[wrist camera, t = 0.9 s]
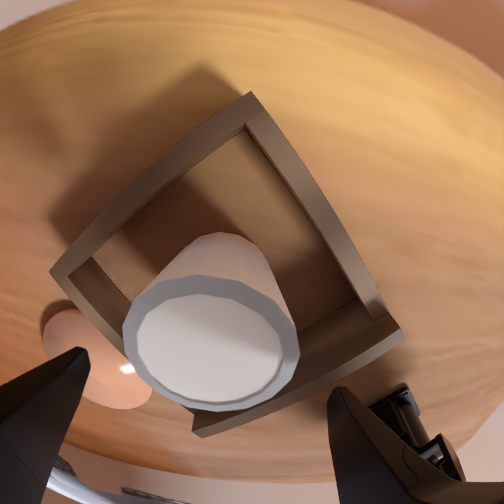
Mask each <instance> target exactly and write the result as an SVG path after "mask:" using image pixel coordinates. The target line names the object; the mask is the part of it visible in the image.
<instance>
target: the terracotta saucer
mask: <svg viewBox="0 0 504 504" xmlns="http://www.w3.org/2000/svg"><path fill="white" fill-rule="evenodd" d="M43 345H44V349H45V352H46V355H47V357H48V359H49V360H51V359H53V358H55V357H57V356H59V355H60V354H62V353H64V352H66V351H68V350H70V349H72V348H74V347H76V346H79V347H82V348H85V349H87V351H88V355H89V359H90V363H91V370H90V373H89V376H88V379H87V382H86V385H85V388H84V391H83V394H82V396H84V397H85V398H87V399H89V400H91V401H93V402H95V403H98V404H100V405H103V406H107V407H111V408H116V409H130V408H135V407H138V406H140V405H142V404H144V403H145V402H146V401H147V400H148V399H149V397H150V395H151V393H152V390H153V388H152V387H150V386H149V385H148V384H147V383H146V382H145V381H143V380H142V379H141V378H140V377H139V376H138V374H137V373H136V371H135V369H134V368H133V366H132V364H131V363H130V361H129V360H128V359H127V358H126V357H124V356H123V355H122V354H121V353H120V352H119V351H118V350H117V349H116V348H115V347H114V346H113V345H112V344H111V343H110V342H109V341H108V340H107V339H106V338H105V337H104V336H103V335H102V334H101V333H100V332H99V331H98V330H97V328H96V327H95V326H94V325H93V324H92V323H91V322H90V321H89V320H88V319H87V318H86V316H85V315H84V314H83V313H82V312H81V311H80V310H79V309H78V308H69V309H64V310H61V311H59V312H57V313H56V314H55V315H54V316H53V317H52V318H51V319H50V320H49V321H48V323H47V324H46V326H45V328H44V331H43Z"/></svg>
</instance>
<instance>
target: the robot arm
mask: <svg viewBox="0 0 504 504" xmlns="http://www.w3.org/2000/svg"><path fill="white" fill-rule="evenodd" d="M90 370H91V363H90V359H89V355H88V351H87V349H85V348H82V347H79V346H76V347H74V348H72V349H70V350H68V351H66V352H64V353H62V354H60V355H59V356H57V357H55V358H53V359H51V360H49V361H47V362H45V363H43V364H41V365H39V366H38V367H36V368H34V369H32V370H30V371H28V372H26V373H24V374H22V375H20V376H19V377H17V378H15V379H13V380H11V381H9V382H8V383H5V384H3V385H1V386H0V504H41V501H42V498H43V494H44V492H45V488H46V487H45V486H46V485H47V482H48V479H49V477H50V474H51V471H52V468H53V465H54V463H55V460H56V458H57V455H58V452H59V450H60V447H61V445H62V442H63V440H64V437H65V435H66V433H67V430H68V428H69V426H70V423H71V421H72V419H73V416H74V414H75V412H76V410H77V407H78V405H79V403H80V400H81V397H82V394H83V391H84V388H85V385H86V382H87V379H88V376H89V373H90ZM419 415H420V411H419V409H418V407H417V405H416V402H415V400H414V398H413V396H412V393H411V391H410V389H409V388H408V387H404V388H402V389H401V390H399V391H397V392H396V393H394V394H393V395H391V396H389V397H388V398H386V399H384V400H382V401H381V402H379V403H377V404H375V405H374V406H372V407H370V408H367V407H366V406H365V405H364V404H363V403H362V402H361V401H360V400H359V399H358V398H357V397H356V396H355V395H354V394H353V393H352V392H351V391H350V390H349V389H348V388H346V387H335V388H334V389H333V391H332V393H331V395H330V397H329V399H328V401H327V420H328V435H329V444H330V449H331V455H332V460H333V466H334V472H335V477H336V483H337V489H338V495H339V501H340V504H504V482H466V478H465V475H464V472H463V469H462V467H461V464H460V461H459V458H458V457H457V454H456V453H455V451H454V449H453V447H452V445H451V444H450V442H449V441H448V440H447V439H446V438H445V437H444V436H443V435H442V434H441V433H440V434H438V435H437V436H435V438H434V439H433V440H431V441H430V439H429V437H428V435H427V433H426V431H425V429H424V427H423V425H422V423H421V421H420V419H419V417H418V416H419ZM442 455H443V458H441V459H440V460H439V459H438V458H439V457H440V456H442Z"/></svg>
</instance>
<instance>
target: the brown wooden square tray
mask: <svg viewBox="0 0 504 504" xmlns="http://www.w3.org/2000/svg"><path fill="white" fill-rule="evenodd" d="M245 128H246V129H247V131H248V132H249V133H250V135H251V136H252V137H253V139H254V140H255V141H256V143H257V144H258V145H259V147H260V148H261V149H262V151H263V152H264V154H265V155H266V156H267V158H268V159H269V161H270V162H271V163H272V165H273V166H274V168H275V169H276V170H277V172H278V173H279V175H280V176H281V178H282V179H283V180H284V182H285V183H286V185H287V186H288V188H289V189H290V191H291V192H292V194H293V195H294V197H295V198H296V200H297V201H298V203H299V204H300V206H301V207H302V209H303V210H304V212H305V213H306V215H307V216H308V218H309V219H310V221H311V222H312V224H313V225H314V227H315V228H316V230H317V232H318V233H319V235H320V236H321V238H322V239H323V241H324V243H325V244H326V246H327V247H328V249H329V251H330V252H331V254H332V255H333V257H334V259H335V260H336V262H337V264H338V265H339V267H340V269H341V270H342V272H343V274H344V275H345V277H346V279H347V280H348V282H349V284H350V285H351V287H352V289H353V290H354V292H355V294H356V296H357V297H356V298H355V299H353V300H352V301H350V302H349V303H347V304H346V305H344V306H343V307H341V308H339V309H338V310H336V311H335V312H333V313H332V314H330V315H328V316H327V317H325V318H323V319H322V320H320V321H319V322H317V323H315V324H314V325H312V326H310V327H309V328H307V329H305V330H303V331H302V332H300V333H298V334H297V338H298V344H299V350H300V357H299V360H298V363H297V365H296V368H295V371H294V373H293V376H292V379H291V380H290V381H289V382H288V383H287V384H286V385H285V386H284V387H283V388H282V389H281V390H280V391H278V392H277V393H276V394H275V395H274V396H273V397H272V398H270V399H268V400H265V401H263V402H261V403H258V404H256V405H254V406H251V407H249V408H246V409H238V410H230V411H220V412H216V411H209V410H202V409H196V408H190V407H186V406H184V405H182V404H181V405H182V406H183V407H184V408H186V409H187V410H188V411H190V412H191V413H193V414H194V420H193V426H192V432H193V433H194V434H196V435H197V436H199V437H200V438H205V437H208V436H211V435H214V434H217V433H220V432H223V431H226V430H229V429H232V428H235V427H237V426H240V425H243V424H246V423H248V422H251V421H253V420H256V419H258V418H261V417H263V416H266V415H268V414H270V413H273V412H275V411H278V410H280V409H282V408H284V407H287V406H289V405H291V404H293V403H295V402H297V401H300V400H302V399H304V398H306V397H308V396H310V395H312V394H314V393H316V392H318V391H320V390H322V389H324V388H326V387H328V386H330V385H331V384H333V383H335V382H337V381H339V380H341V379H343V378H344V377H346V376H348V375H350V374H351V373H353V372H355V371H357V370H358V369H360V368H362V367H363V366H365V365H367V364H368V363H370V362H372V361H373V360H375V359H376V358H378V357H380V356H381V355H383V354H384V353H386V352H387V351H389V350H391V349H392V348H394V347H395V346H397V345H398V344H400V343H401V342H402V341H404V340H405V337H404V335H403V332H402V330H401V328H400V327H399V325H398V324H397V323H396V321H395V320H394V319H393V317H392V316H391V315H390V313H389V311H388V309H387V307H386V305H385V303H384V301H383V299H382V297H381V295H380V293H379V291H378V289H377V287H376V285H375V283H374V281H373V279H372V277H371V276H370V274H369V272H368V270H367V268H366V266H365V264H364V262H363V261H362V259H361V257H360V255H359V253H358V251H357V250H356V248H355V246H354V244H353V243H352V241H351V239H350V237H349V235H348V234H347V232H346V230H345V229H344V227H343V225H342V223H341V222H340V220H339V218H338V217H337V215H336V213H335V212H334V210H333V208H332V207H331V205H330V204H329V202H328V200H327V199H326V197H325V195H324V194H323V192H322V191H321V189H320V188H319V186H318V184H317V183H316V181H315V180H314V178H313V177H312V175H311V174H310V172H309V171H308V169H307V168H306V166H305V165H304V163H303V162H302V160H301V159H300V157H299V156H298V154H297V153H296V151H295V150H294V148H293V147H292V146H291V144H290V143H289V141H288V140H287V138H286V137H285V136H284V134H283V133H282V131H281V130H280V129H279V127H278V126H277V125H276V123H275V122H274V120H273V119H272V118H271V116H270V115H269V114H268V112H267V111H266V110H265V108H264V107H263V106H262V104H261V103H260V102H259V101H258V99H257V98H256V97H255V95H254V94H253V93H252V92H251V91H250V92H248V93H247V94H245V95H244V96H242V97H241V98H239V99H238V100H236V101H235V102H233V103H232V104H230V105H229V106H227V107H226V108H225V109H223V110H222V111H220V112H219V113H217V114H216V115H215V116H213V117H212V118H211V119H209V120H208V121H206V122H205V123H204V124H202V125H201V126H200V127H198V128H197V129H196V130H194V131H193V132H192V133H190V134H189V135H188V136H187V137H185V138H184V139H183V140H182V141H180V142H179V143H178V144H176V145H175V146H174V147H173V148H172V149H170V150H169V151H168V152H167V153H165V154H164V155H163V156H162V157H161V158H160V159H158V160H157V161H156V162H155V163H154V164H152V165H151V166H150V167H149V168H148V169H147V170H146V171H144V172H143V173H142V174H141V175H140V176H139V177H138V178H137V179H136V180H134V181H133V182H132V183H131V184H130V185H129V186H128V187H127V188H126V189H125V190H124V191H123V192H122V193H121V194H120V195H118V196H117V197H116V198H115V199H114V200H113V201H112V202H111V203H110V204H109V205H108V206H107V207H106V208H105V209H104V210H103V211H102V212H101V213H100V214H99V215H98V216H97V217H96V218H95V220H94V221H93V222H92V223H91V224H90V225H89V226H88V227H87V228H86V229H85V230H84V231H83V232H82V233H81V234H80V236H79V237H78V238H77V239H76V240H75V241H74V242H73V243H72V245H71V246H70V247H69V248H68V249H67V250H66V251H65V253H64V254H63V255H62V256H61V257H60V258H59V260H58V261H57V262H56V263H55V264H54V266H53V267H52V268H51V269H50V271H49V273H50V274H51V276H52V277H53V278H54V279H55V281H56V282H57V283H58V285H59V286H60V287H61V288H62V290H63V291H64V292H65V293H66V294H67V296H68V297H69V298H70V299H71V300H72V302H73V303H74V304H75V305H76V306H77V307H78V309H79V310H80V311H81V312H82V313H83V314H84V315H85V316H86V318H87V319H88V320H89V321H90V322H91V323H92V324H93V325H94V326H95V327H96V328H97V330H98V331H99V332H100V333H101V334H102V335H103V336H104V337H105V338H106V339H107V340H108V341H109V342H110V343H111V344H112V345H113V346H114V347H115V348H116V349H117V350H118V351H119V352H120V353H121V354H122V355H123V356H124V357H126V358H127V359H128V357H127V356H126V354H125V349H124V340H123V330H122V326H123V323H124V321H125V319H126V317H127V314H128V312H129V310H130V308H131V305H132V304H131V303H130V302H129V301H128V300H127V299H126V297H125V296H124V295H123V294H122V293H121V292H120V291H119V290H118V288H117V287H116V286H115V285H114V284H113V283H112V281H111V280H110V279H109V278H108V277H107V275H106V274H105V273H104V272H103V271H102V269H101V268H100V267H99V266H98V264H97V263H96V262H95V261H94V260H93V258H92V257H91V256H92V255H93V254H94V253H95V252H96V251H97V250H98V249H99V248H100V247H101V246H102V245H103V244H104V243H105V242H106V241H107V240H108V239H110V238H111V237H112V236H113V235H114V234H115V233H116V232H117V231H118V230H119V229H120V228H121V227H122V226H123V225H124V224H126V223H127V222H128V221H129V220H130V219H131V218H132V217H133V216H134V215H135V214H137V213H138V212H139V211H140V210H141V209H142V208H143V207H145V206H146V205H147V204H148V203H149V202H150V201H151V200H153V199H154V198H155V197H156V196H157V195H159V194H160V193H161V192H162V191H163V190H164V189H166V188H167V187H168V186H169V185H171V184H172V183H173V182H174V181H175V180H177V179H178V178H179V177H180V176H182V175H183V174H184V173H185V172H187V171H188V170H189V169H191V168H192V167H193V166H194V165H196V164H197V163H198V162H200V161H201V160H202V159H204V158H205V157H206V156H208V155H209V154H210V153H212V152H213V151H214V150H216V149H217V148H218V147H220V146H221V145H222V144H224V143H225V142H227V141H228V140H229V139H231V138H232V137H234V136H235V135H237V134H238V133H239V132H241V131H242V130H244V129H245ZM128 360H129V359H128Z"/></svg>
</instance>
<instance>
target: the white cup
mask: <svg viewBox="0 0 504 504" xmlns="http://www.w3.org/2000/svg"><path fill="white" fill-rule="evenodd" d="M122 330H123V340H124V349H125V354H126V356H127V357H128V359H129V361H130V363H131V364H132V366H133V368H134V369H135V371H136V373H137V374H138V376H139V377H140V378H141V379H142V380H143V381H145V382H146V383H147V384H148V385H149V386H150V387H152V388H153V389H154V390H155V391H156V392H158V393H159V394H160V395H162V396H164V397H166V398H168V399H170V400H173V401H175V402H177V403H179V404H182V405H184V406H186V407H190V408H196V409H202V410H209V411H216V412H220V411H230V410H238V409H246V408H249V407H251V406H254V405H256V404H258V403H261V402H263V401H265V400H268V399H270V398H272V397H273V396H274V395H275V394H276V393H277V392H278V391H280V390H281V389H282V388H283V387H284V386H285V385H286V384H287V383H288V382H289V381H290V380H291V379H292V376H293V373H294V371H295V368H296V365H297V363H298V360H299V357H300V350H299V344H298V338H297V333H296V327H295V325H294V322H293V320H292V318H291V315H290V313H289V311H288V308H287V306H286V303H285V301H284V299H283V296H282V294H281V292H280V289H279V287H278V285H277V282H276V280H275V278H274V275H273V273H272V271H271V268H270V266H269V264H268V261H267V259H266V258H265V257H264V255H263V254H262V253H261V251H260V250H259V249H258V247H257V246H256V245H255V244H253V243H251V242H250V241H248V240H246V239H245V238H243V237H241V236H240V235H235V234H229V233H223V232H216V233H212V234H208V235H203V236H200V237H198V238H197V239H195V240H194V241H193V242H191V243H190V244H189V245H187V246H186V247H185V248H184V249H183V250H182V251H181V252H180V253H179V254H178V255H177V256H176V257H175V258H174V259H173V260H172V261H171V262H170V263H169V264H168V265H167V266H166V267H165V268H164V269H163V270H162V271H161V272H160V273H159V274H158V275H157V277H156V278H155V279H154V280H153V281H152V282H151V283H150V284H149V285H148V286H147V287H146V288H145V289H144V290H143V291H142V292H141V294H140V295H139V296H138V297H137V298H136V299H135V300H134V301H133V303H132V305H131V308H130V310H129V312H128V314H127V317H126V319H125V321H124V323H123V326H122Z"/></svg>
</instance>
